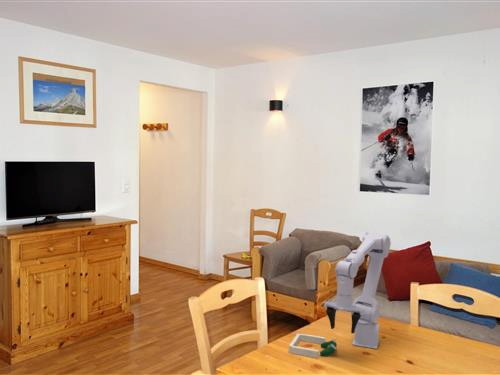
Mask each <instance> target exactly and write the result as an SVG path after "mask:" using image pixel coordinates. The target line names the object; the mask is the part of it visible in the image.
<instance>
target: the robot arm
mask: <svg viewBox="0 0 500 375" xmlns="http://www.w3.org/2000/svg"><path fill="white" fill-rule="evenodd" d="M391 244H392V242H391V238H390V236H389V235H388V234H377V233H371V232H365V233H364V234H363V236H362V240H361V243H360V245H359V247H358V248H357V249H353V250H352V251H351V252H349V254H348V255H347V256H346V257H345V258H343V260H340V261H337V263H336V264H335V268H334V272H335V279H336V281H337V283H336V284H337V285H336V286H337V287H336V302H332V301H324V303H323V304H324V309H326V310H325V312H326V315H327V317H328V320H329V323H330V324H329V325H330V329H331V330H334V328H336V312H337V311H342V312H347V313H350V316H351V328H350V329H351V330H350V332H351V334H354V336H353V337H354V338H353V340H352V346H356V347H362V348H363V347H364V348H369V349H375V350H377V349H378V346H379V343H380V337H379V336H380V335H379V334H380V323H378V320H379V317H380V306H381V305H380V303H379V302H378V301H377V300H376V299H375V297H376V295H377V294H376V293H377V289H378V285H379V281H380V276H381V272H382V268H383V264H384V260H385V258H388V256H389V253H390V249H391ZM366 255H369V256H370V262H369V265H368V268H367V273H366V275H365V276H366V277H365V282H364V285H363V289H362V292H361V295H359V296H358V297H355V298H354V301H353V296H354V280H355V279H354V278H355V277H357V274H358V272H359V267H360V266H362V264H363V263H364V261H365V260H366V259H365V256H366Z"/></svg>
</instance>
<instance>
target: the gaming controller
mask: <svg viewBox="0 0 500 375" xmlns="http://www.w3.org/2000/svg"><path fill="white" fill-rule="evenodd" d="M320 347H321V349H322V350H321V351H319V356H320V357H327V356H330V355H333V354H335V352H336V351H337V341H336V340H335V339H334V338H332V339H331V340H330V341H329V340H328V341H325V342H324V343H322V344H320Z"/></svg>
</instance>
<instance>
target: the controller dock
mask: <svg viewBox="0 0 500 375" xmlns="http://www.w3.org/2000/svg"><path fill="white" fill-rule="evenodd" d="M300 342H306V343H313V344H318V345H321V344H322V343H324V342H326V337H325V336H324V337H323V336H319V335H312V334H306V333H296V335H295V336H294V338H293V340H292V341H291V342H290V343H289V345H288V353H290V354H291V355H297V356H303V357H309V358H315V359H319V357H320V350H319V349H313V348H308V347H303V346H298V344H299V343H300Z"/></svg>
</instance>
